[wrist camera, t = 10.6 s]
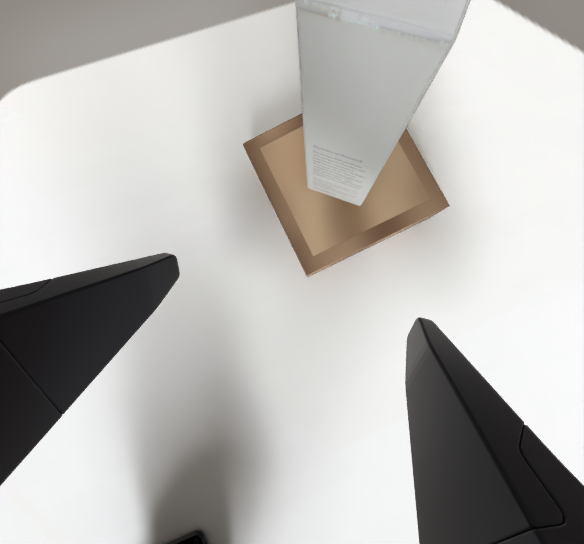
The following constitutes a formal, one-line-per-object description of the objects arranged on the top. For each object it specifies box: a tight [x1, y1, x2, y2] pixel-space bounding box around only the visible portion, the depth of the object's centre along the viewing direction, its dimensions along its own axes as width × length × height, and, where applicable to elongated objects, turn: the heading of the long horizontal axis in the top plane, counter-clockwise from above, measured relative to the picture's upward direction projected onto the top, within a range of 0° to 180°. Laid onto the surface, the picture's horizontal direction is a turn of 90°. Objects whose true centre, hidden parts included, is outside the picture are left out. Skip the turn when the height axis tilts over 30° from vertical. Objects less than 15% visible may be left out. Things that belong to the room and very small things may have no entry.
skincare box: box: [296, 0, 471, 206], centre depth 12 cm, size 6×4×12 cm
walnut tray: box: [243, 114, 450, 277], centre depth 19 cm, size 11×11×3 cm
